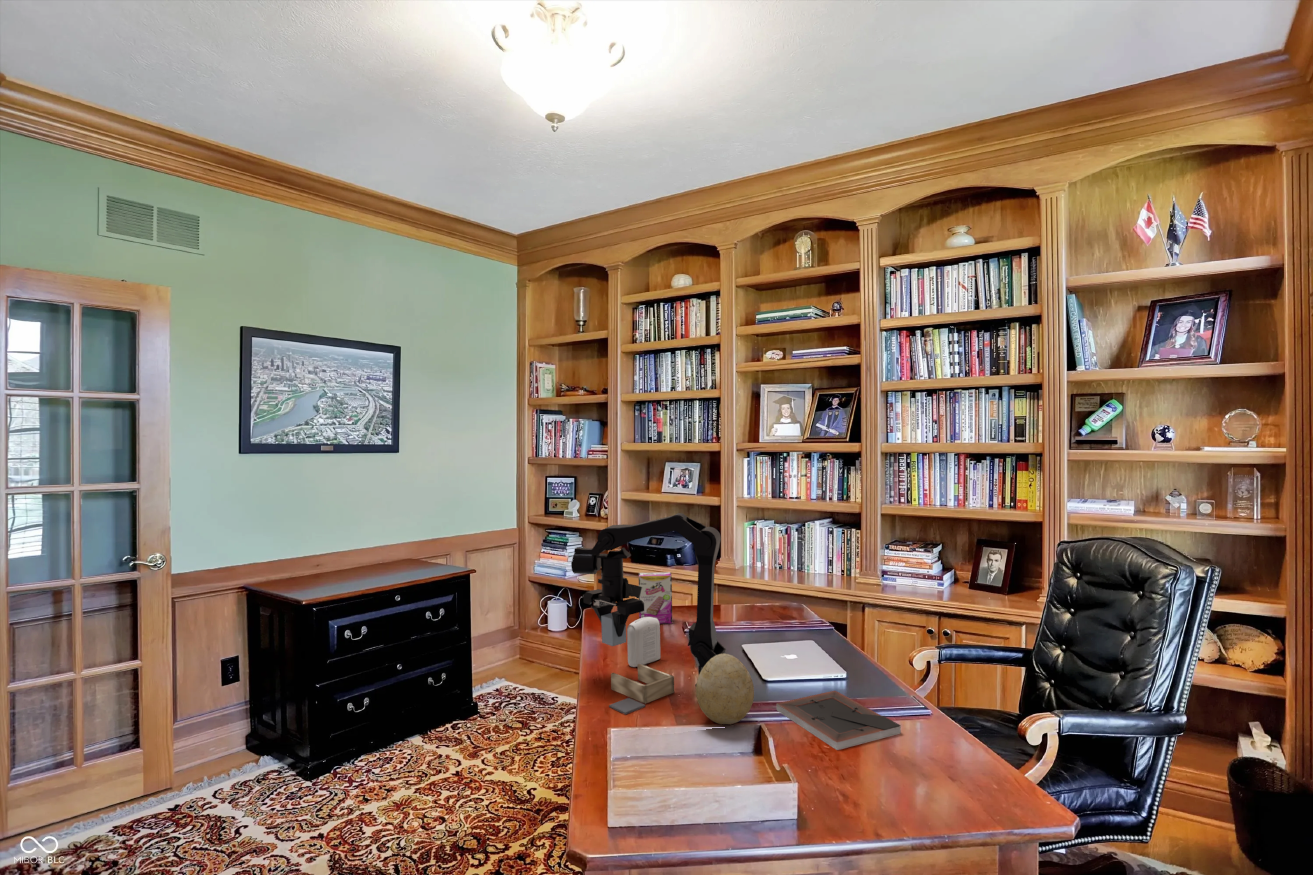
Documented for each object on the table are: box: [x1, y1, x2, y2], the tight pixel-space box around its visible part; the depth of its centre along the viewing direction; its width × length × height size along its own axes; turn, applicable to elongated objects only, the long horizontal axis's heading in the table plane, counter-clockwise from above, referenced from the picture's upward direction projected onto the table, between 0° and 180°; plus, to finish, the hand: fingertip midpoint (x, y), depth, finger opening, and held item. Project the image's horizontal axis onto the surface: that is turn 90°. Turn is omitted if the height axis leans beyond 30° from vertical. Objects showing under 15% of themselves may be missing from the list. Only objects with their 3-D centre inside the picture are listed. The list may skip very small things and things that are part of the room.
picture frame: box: [776, 690, 902, 751], centre depth 151 cm, size 16×2×22 cm
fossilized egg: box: [695, 653, 755, 725], centre depth 152 cm, size 13×13×15 cm
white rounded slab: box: [626, 617, 661, 668], centre depth 192 cm, size 10×4×12 cm, turn 134°
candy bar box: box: [638, 571, 673, 625], centre depth 230 cm, size 11×5×16 cm, turn 91°
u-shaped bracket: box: [610, 664, 675, 705], centre depth 171 cm, size 13×10×4 cm
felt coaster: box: [608, 697, 646, 715], centre depth 161 cm, size 6×6×1 cm
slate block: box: [600, 613, 627, 647], centre depth 179 cm, size 4×4×7 cm
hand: (614, 634), depth 179 cm, fingers closed on slate block, 4 cm apart
